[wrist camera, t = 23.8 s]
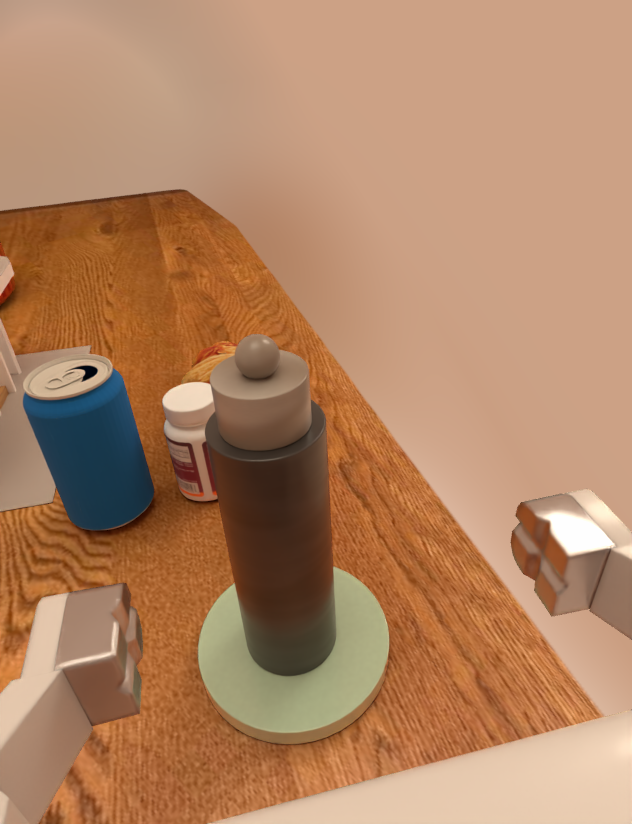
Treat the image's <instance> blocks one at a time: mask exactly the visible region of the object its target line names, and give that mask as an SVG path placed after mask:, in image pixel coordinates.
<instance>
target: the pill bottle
mask: <svg viewBox="0 0 632 824" xmlns="http://www.w3.org/2000/svg"><path fill="white" fill-rule="evenodd" d="M162 404H163V408H164V412H165V416H166V421H165V424H164V433H165V436H166V440H167V444H168V447H169V451H170V455H171V458H172V463H173V466H174V470H175V474H176V478H177V482H178V485H179V489H180V491H181V493H182V494H183V495H184V496H185V497H187V498H188V499H191V500H195V501H210V500H215V499H218V497H217V492H216V487H215V482H214V477H213V472H212V467H211V462H210V457H209V453H208V448H207V443H206V437H205V427H206V424H207V421H208V419H209V418H210V416H211V415H212V414H213V413H214V412H215V407H214V401H213V396H212V390H211V385H210V384H208V383H203V382H191V383H186V384H182V385H179V386H177V387H174V388H173V389H171V390H170V391H168V392H167V393H166V394H165V395H164V397H163V400H162Z"/></svg>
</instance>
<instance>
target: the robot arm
mask: <svg viewBox="0 0 632 824" xmlns="http://www.w3.org/2000/svg"><path fill="white" fill-rule="evenodd" d="M516 517H517V518H518V520H519V521H520V523H519V524H518V525H517V526H516V527H515V529H514V530H513V531H512V537H511V547H512V553H513V556H514V559H515V561H516V563H517V565H518V566H519V568H520V570H521V571H522V573H523V574H524V575H526V576H528V577H530V578H532V579H533V580H535V589H534V591H535V593H536V594H537V595H538V597H539V599H540V600H541V601H542V603H543V604H544V606H545V607H546V609H547V610H548V612H549V613H550V615H551V616H556V615H562V614H567V613H572V612H576V611H581V610H586V609H590V612H592V613H593V614H595V615H596V616H598V617H599V618H601V619H602V620H604V621H605V622H606V623H608V624H609V625H611V626H612V627H614V628H615V629H617V630H618V631H620V632H621V633H623V634H624V635H626V636H627V637H628V638H630V639H631V640H632V532H631V531H630V530H629V529H628V528H627V527H626V526H625V525H624V524H623V523H622V521H621V520H620V519H619V518H618V517H617V516H616V515H615V514H614V513H613V512H612V511H611V510H610V509H609V508H608V507H607V506H606V505H605V503H603V501H602V500H601V499H600V498H599V497H598V496H597V495H596V494H595V493H594V492H593V491H591V490H589V489H584V490H579V491H574V492H569V493H565V494H558V495H553V496H548V497H544V498H539V499H534V500H530V501H525V502H521V503H520V505H519V506H518V507H517V512H516ZM130 601H131V593H130V591H129V588H128V586H127V584H126V583H119V584H114V585H108V586H102V587H96V588H91V589H85V590H79V591H74V592H70V593H64V594H59V595H53V596H48V597H42V599H41V600H40V602H39V603H38V605H37V608H36V612H35V616H34V621H33V625H32V629H31V634H30V638H29V642H28V647H27V651H26V655H25V659H24V664H23V668H22V672H21V677H20V679H16V680H12V681H11V682H10V683H9V684H8V685H7V686H6V687H5V689H4V690H3V691H2V692H1V693H0V824H38V823H39V822H40V820H41V818H42V817H43V815H44V813H45V811H46V810H47V808H48V806H49V804H50V803H51V801H52V799H53V798H54V796H55V794H56V792H57V791H58V789H59V787H60V785H61V784H62V782H63V780H64V779H65V777H66V775H67V773H68V772H69V770H70V768H71V766H72V765H73V763H74V761H75V759H76V758H77V756H78V754H79V753H80V751H81V749H82V747H83V746H84V744H85V742H86V740H87V739H88V737H89V735H90V734H91V732H92V730H93V727H92V726H95V725H98V724H102V723H106V722H110V721H114V720H117V719H121V718H125V717H129V716H133V715H136V714H140V702H141V677H140V674H139V672H138V669H137V667H136V666H137V665H138V663H139V662H140V661H141V659H142V654H143V641H142V629H141V624H140V619H139V616H138V613H137V610H136V609H135V608H133V607H131V606H130ZM207 824H632V710H628V711H624V712H620V713H617V714H613V715H609V716H605V717H602V718H598V719H594V720H590V721H587V722H583V723H579V724H576V725H572V726H568V727H564V728H561V729H557V730H553V731H549V732H546V733H542V734H538V735H534V736H531V737H527V738H523V739H520V740H516V741H512V742H508V743H505V744H501V745H497V746H493V747H490V748H486V749H482V750H479V751H475V752H471V753H467V754H464V755H460V756H456V757H452V758H449V759H445V760H441V761H438V762H434V763H430V764H426V765H423V766H419V767H415V768H412V769H408V770H404V771H400V772H397V773H393V774H389V775H386V776H382V777H378V778H374V779H371V780H367V781H363V782H359V783H356V784H352V785H348V786H345V787H341V788H337V789H333V790H330V791H326V792H322V793H319V794H315V795H311V796H307V797H304V798H300V799H296V800H293V801H289V802H285V803H281V804H278V805H274V806H270V807H267V808H263V809H259V810H255V811H252V812H248V813H244V814H241V815H237V816H233V817H229V818H226V819H222V820H218V821H215V822H211V823H207Z"/></svg>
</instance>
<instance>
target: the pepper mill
mask: <svg viewBox="0 0 632 824" xmlns="http://www.w3.org/2000/svg"><path fill="white" fill-rule="evenodd" d="M210 385H211V390H212V396H213V401H214V407H215V412H214V413H213V414H212V415H211V416H210V418H209V419H208V421H207V424H206V427H205V437H206V443H207V448H208V453H209V457H210V462H211V467H212V472H213V477H214V482H215V487H216V492H217V497H218V502H219V507H220V512H221V517H222V522H223V527H224V532H225V537H226V542H227V547H228V552H229V557H230V562H231V567H232V572H233V577H234V582H235V587H236V592H237V597H238V602H239V607H240V612H241V617H242V622H243V627H244V632H245V637H246V642H247V647H248V650H249V653H250V655H251V657H252V658H253V660H254V661H255V662H256V663H257V664H258V665H259V666H260V667H262V668H263V669H264V670H266V671H268V672H270V673H273V674H276V675H281V676H296V675H301V674H304V673H307V672H309V671H312V670H313V669H315V668H317V667H318V666H319V665H321V664H322V663H323V662H324V661H325V660H326V659H327V657H328V656H329V655H330V653H331V651H332V650H333V647H334V645H335V641H336V614H335V594H334V573H333V553H332V533H331V513H330V492H329V472H328V452H327V431H326V418H325V414H324V412H323V410H322V409H321V408H320V406H319V405H317V404H316V403H315V402H314V401H312V400H311V397H310V382H309V369H308V366H307V364H306V362H305V361H304V360H303V359H302V358H301V357H299V356H297V355H295V354H293V353H290V352H286V351H282V350H279V349H278V347H277V345H276V343H275V342H274V341H273V340H272V339H271V338H269V337H267V336H265V335H262V334H252V335H249V336H247V337H245V338H243V339H242V340H241V341H240V342H239V344H238V345H237V347H236V350H235V355H234V356H231V357H229V358H227V359H225V360H223V361H222V362H220V363H219V364H218V365H217V366H216V367H215V368H214V369H213V371H212V372H211V375H210Z"/></svg>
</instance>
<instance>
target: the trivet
mask: <svg viewBox="0 0 632 824" xmlns="http://www.w3.org/2000/svg"><path fill="white" fill-rule="evenodd" d="M333 573H334V594H335V614H336V641H335V645H334V647H333V650H332V651H331V653H330V655H329V656H328V657H327V659H326V660H325V661H324V662H323V663H322V664H321V665H319V666H318V667H317V668H315V669H313V670H312V671H309V672H307V673H304V674H301V675H296V676H281V675H276V674H273V673H270V672H268V671H266V670H264V669H263V668H262V667H260V666H259V665H258V664H257V663H256V662H255V661H254V660H253V658H252V657H251V655H250V653H249V650H248V647H247V642H246V637H245V632H244V627H243V622H242V617H241V612H240V607H239V602H238V597H237V592H236V587H235V583H234V584H232V585H231V586H230V587H229V588H228V589H227V590H226V591H225V592H224V593H223V594H222V595H221V596H220V597H219V598H218V599H217V601H216V602H215V603H214V605H213V606H212V608H211V609H210V611H209V613H208V615H207V617H206V619H205V621H204V623H203V626H202V629H201V632H200V637H199V643H198V663H199V669H200V673H201V676H202V680H203V683H204V687H205V690H206V692H207V694H208V697H209V699H210V701H211V702H212V704H213V705H214V707H215V709H216V710H217V711H218V712H219V714H220V715H221V716H222V717H223V718H224V719H225V720H226V721H227V722H228V723H230V724H231V725H232V726H233V727H235V728H236V729H238V730H239V731H241V732H243V733H244V734H246V735H249V736H251V737H254V738H256V739H258V740H262V741H266V742H270V743H278V744H301V743H307V742H313V741H316V740H320V739H323V738H326V737H328V736H331V735H333V734H335V733H337V732H339V731H341V730H342V729H344V728H345V727H347V726H348V725H350V724H352V723H353V722H354V721H355V720H356V719H357V718H359V717H360V716H361V715H362V714H363V713H364V712H365V711H366V709H367V708H368V707H369V706H370V705H371V703H372V702H373V700H374V699H375V697H376V696H377V694H378V693H379V690H380V688H381V686H382V684H383V682H384V679H385V675H386V672H387V667H388V661H389V631H388V625H387V621H386V618H385V615H384V613H383V610H382V608H381V606H380V604H379V603H378V601H377V599H376V598H375V596H374V595H373V594H372V593H371V592H370V590H369V589H368V588H367V587H366V586H365V585H364V584H363V583H362V582H360V581H359V580H358V579H356V578H355V577H354V576H352V575H351V574H349V573H347V572H345V571H343V570H341V569H339V568H336V567H334V566H333Z"/></svg>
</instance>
